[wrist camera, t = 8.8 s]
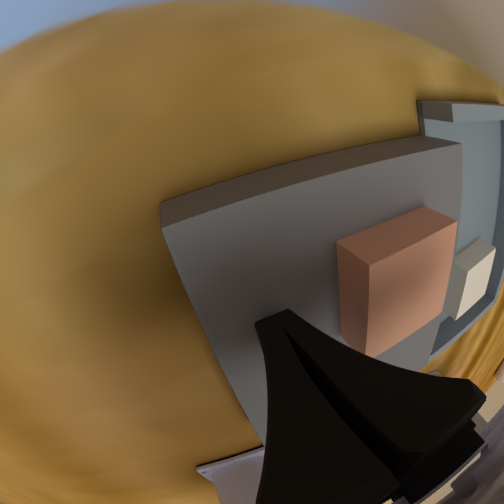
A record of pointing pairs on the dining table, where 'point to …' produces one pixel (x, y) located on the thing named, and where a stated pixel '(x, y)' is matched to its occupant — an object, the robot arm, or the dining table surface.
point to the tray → (472, 193)
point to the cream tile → (469, 277)
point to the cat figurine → (500, 372)
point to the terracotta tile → (394, 278)
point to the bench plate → (299, 246)
